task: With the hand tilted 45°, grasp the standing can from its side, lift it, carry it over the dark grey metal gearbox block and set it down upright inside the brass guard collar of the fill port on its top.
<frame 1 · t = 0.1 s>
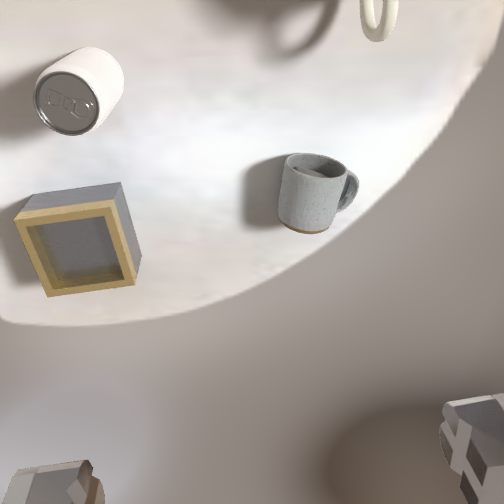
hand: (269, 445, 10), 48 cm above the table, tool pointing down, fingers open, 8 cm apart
gearbox: (90, 226, 60), on the table
can: (95, 77, 51), on the table
ceramic mug: (314, 180, 59), on the table
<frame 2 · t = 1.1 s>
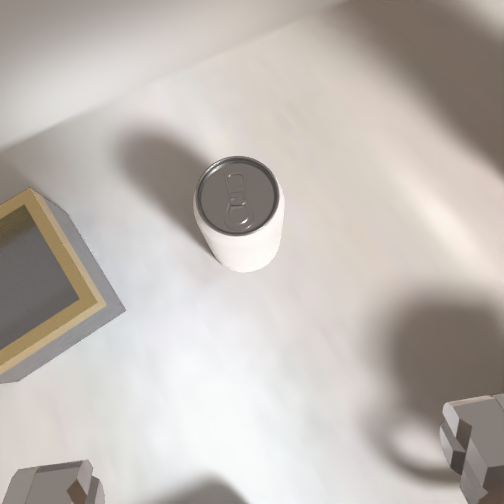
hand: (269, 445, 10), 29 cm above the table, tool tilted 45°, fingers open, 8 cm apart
gearbox: (43, 294, 41), on the table
can: (245, 239, 42), on the table
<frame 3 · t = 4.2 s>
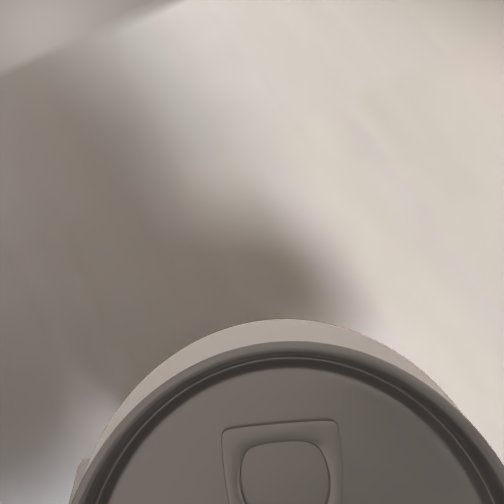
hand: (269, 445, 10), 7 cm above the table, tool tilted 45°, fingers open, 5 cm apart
can: (271, 426, 17), on the table, touching gripper
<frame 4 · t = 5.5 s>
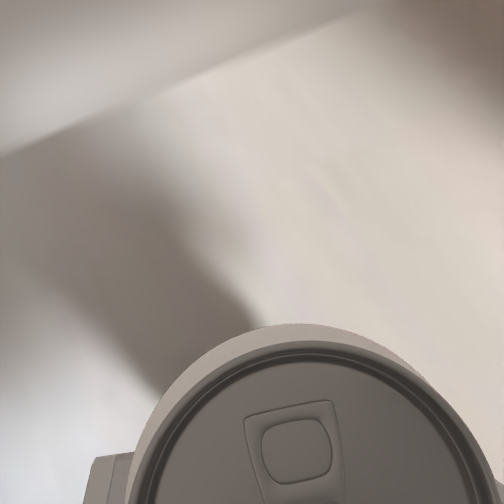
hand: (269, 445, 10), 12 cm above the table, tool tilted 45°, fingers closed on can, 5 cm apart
can: (272, 424, 18), point 4 cm above the table, touching gripper
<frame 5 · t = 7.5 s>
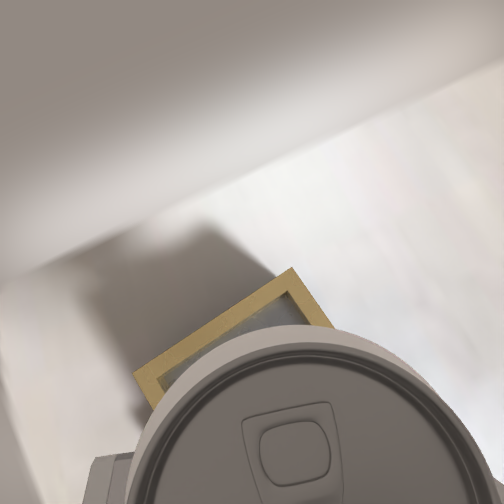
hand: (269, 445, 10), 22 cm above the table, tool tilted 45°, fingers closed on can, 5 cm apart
gearbox: (265, 391, 32), on the table
can: (275, 424, 18), point 14 cm above the table, touching gripper
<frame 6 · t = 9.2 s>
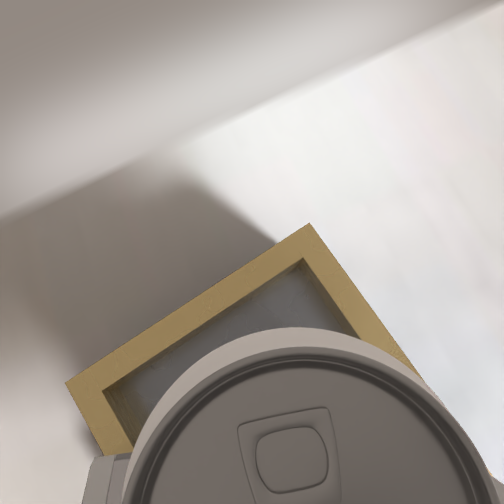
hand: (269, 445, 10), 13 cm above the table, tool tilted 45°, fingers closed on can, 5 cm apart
gearbox: (269, 405, 23), on the table
can: (278, 424, 18), point 5 cm above the table, touching gearbox, gripper
when the fingers open (13 cm above the table, at t = 9.6 s): can stays where it is, resting on gearbox.
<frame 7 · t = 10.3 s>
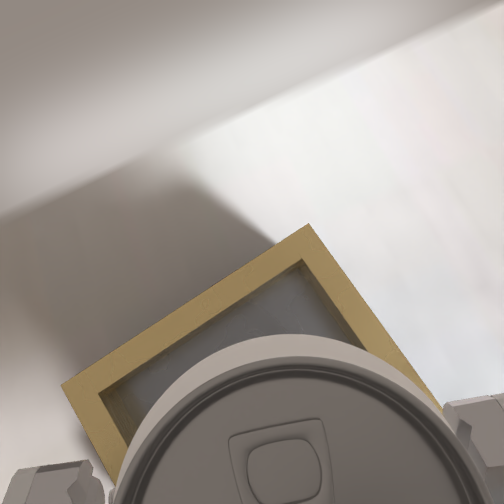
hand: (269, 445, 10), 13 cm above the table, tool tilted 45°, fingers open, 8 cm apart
gearbox: (268, 408, 23), on the table
can: (276, 426, 18), point 5 cm above the table, touching gearbox
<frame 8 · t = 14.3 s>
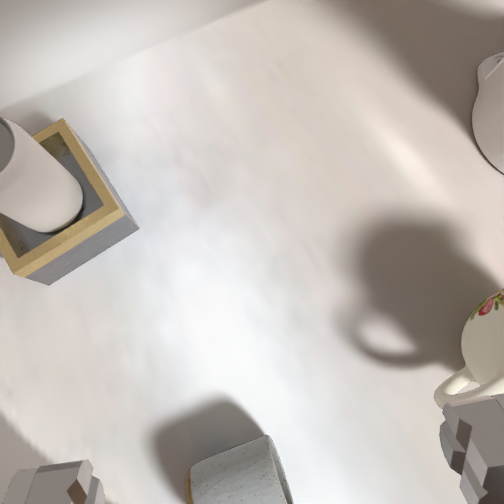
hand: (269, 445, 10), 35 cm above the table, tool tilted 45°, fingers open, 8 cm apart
gearbox: (70, 215, 49), on the table
can: (52, 202, 44), point 5 cm above the table, touching gearbox
pitcher: (489, 353, 45), on the table
ceramic mug: (250, 494, 43), on the table
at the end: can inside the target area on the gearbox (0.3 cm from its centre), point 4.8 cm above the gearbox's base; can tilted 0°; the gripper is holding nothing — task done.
